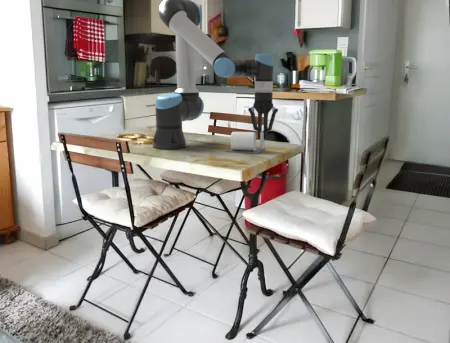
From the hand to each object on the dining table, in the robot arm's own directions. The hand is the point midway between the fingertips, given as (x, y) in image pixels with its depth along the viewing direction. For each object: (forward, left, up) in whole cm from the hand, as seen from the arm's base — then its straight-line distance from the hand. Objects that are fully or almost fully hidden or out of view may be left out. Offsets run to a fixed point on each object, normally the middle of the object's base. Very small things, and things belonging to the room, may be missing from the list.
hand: (262, 146), depth 194 cm
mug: (-8, 0, -2) cm, 8 cm away
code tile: (-7, 0, -2) cm, 8 cm away
